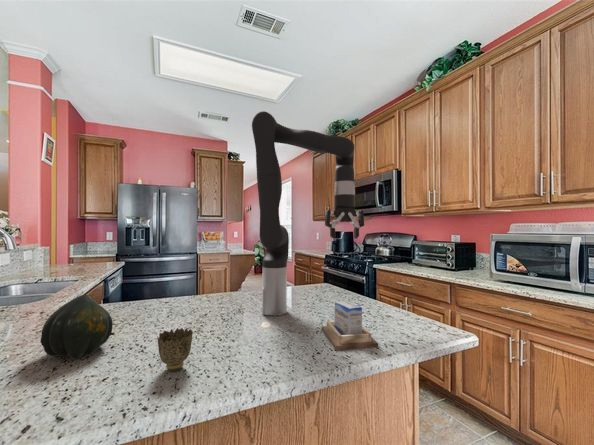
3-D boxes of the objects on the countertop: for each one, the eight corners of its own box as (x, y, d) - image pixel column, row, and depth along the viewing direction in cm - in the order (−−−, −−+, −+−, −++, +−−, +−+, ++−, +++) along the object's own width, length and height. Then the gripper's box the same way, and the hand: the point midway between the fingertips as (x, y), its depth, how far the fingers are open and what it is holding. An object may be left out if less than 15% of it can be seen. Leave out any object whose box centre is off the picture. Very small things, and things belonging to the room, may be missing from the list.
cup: (164, 361, 68) (164, 327, 68) (196, 360, 69) (196, 327, 69) (151, 377, 61) (151, 340, 61) (186, 376, 61) (187, 339, 61)
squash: (38, 351, 61) (91, 290, 70) (16, 340, 69) (66, 286, 78) (94, 374, 69) (135, 317, 78) (69, 361, 77) (108, 311, 86)
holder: (335, 350, 74) (335, 338, 74) (321, 329, 89) (321, 320, 89) (378, 346, 76) (378, 335, 76) (357, 327, 91) (357, 318, 91)
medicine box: (334, 330, 86) (334, 301, 86) (346, 328, 87) (346, 300, 88) (349, 340, 78) (349, 308, 78) (362, 337, 80) (362, 306, 80)
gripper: (359, 195, 109) (359, 238, 109) (323, 195, 107) (323, 238, 106) (367, 193, 102) (367, 238, 101) (328, 192, 99) (328, 239, 99)
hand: (344, 238), depth 104 cm, fingers open, 8 cm apart
